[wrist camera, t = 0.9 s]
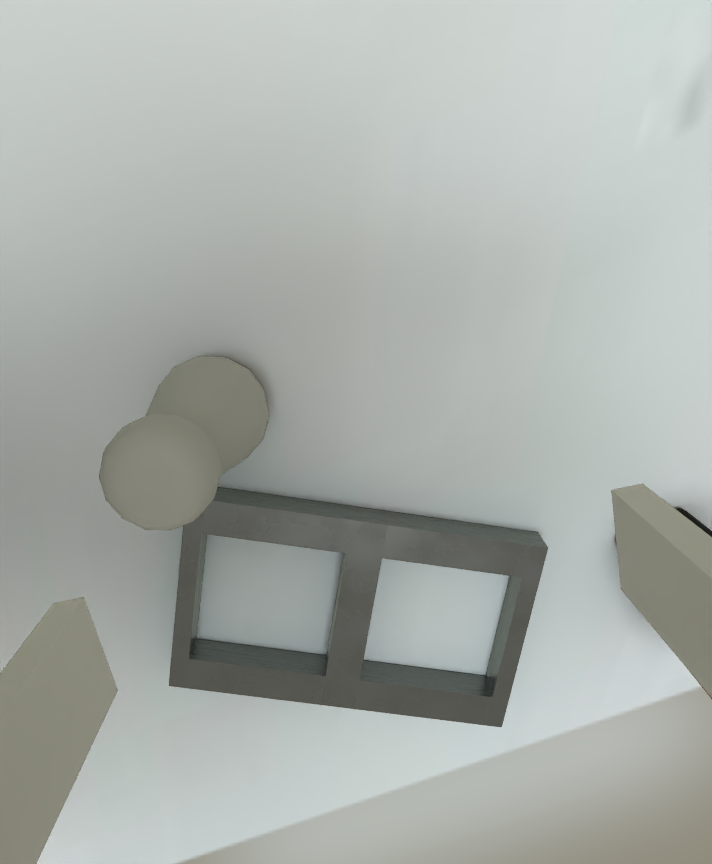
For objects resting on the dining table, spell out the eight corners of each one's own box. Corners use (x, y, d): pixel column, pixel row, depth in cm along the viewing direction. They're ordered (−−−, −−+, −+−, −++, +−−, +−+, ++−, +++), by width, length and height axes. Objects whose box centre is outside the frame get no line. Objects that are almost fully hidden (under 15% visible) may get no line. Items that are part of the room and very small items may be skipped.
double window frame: (177, 664, 40) (168, 685, 38) (194, 483, 37) (185, 496, 35) (494, 704, 41) (501, 727, 39) (537, 532, 38) (548, 547, 36)
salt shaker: (283, 442, 36) (248, 546, 24) (182, 460, 37) (96, 571, 24) (260, 339, 35) (211, 392, 22) (156, 358, 35) (49, 421, 23)
